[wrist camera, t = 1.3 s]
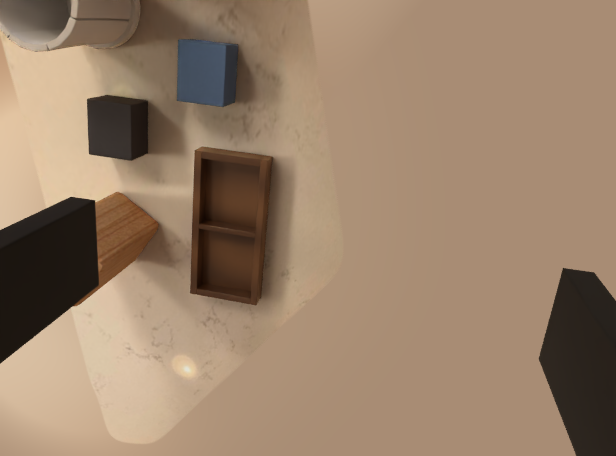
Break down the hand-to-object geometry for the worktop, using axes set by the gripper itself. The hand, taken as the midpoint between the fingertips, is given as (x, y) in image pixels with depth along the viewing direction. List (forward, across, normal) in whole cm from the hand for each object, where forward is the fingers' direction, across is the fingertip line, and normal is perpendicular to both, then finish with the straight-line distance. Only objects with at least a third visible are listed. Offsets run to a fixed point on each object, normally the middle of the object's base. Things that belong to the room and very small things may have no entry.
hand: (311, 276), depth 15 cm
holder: (+44, -16, -16) cm, 50 cm away
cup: (+45, -30, +7) cm, 54 cm away
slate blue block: (+44, -18, +1) cm, 48 cm away
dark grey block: (+44, -28, -6) cm, 53 cm away
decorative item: (+44, -29, -18) cm, 56 cm away
